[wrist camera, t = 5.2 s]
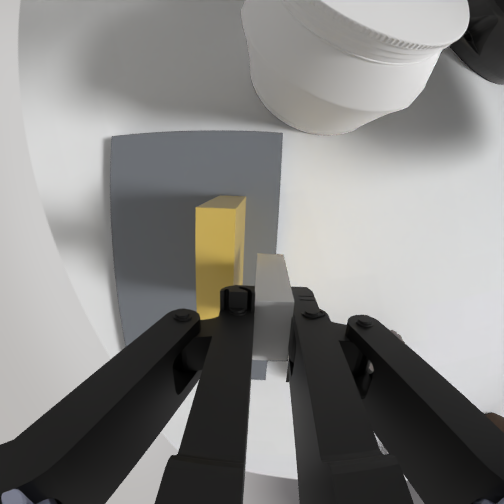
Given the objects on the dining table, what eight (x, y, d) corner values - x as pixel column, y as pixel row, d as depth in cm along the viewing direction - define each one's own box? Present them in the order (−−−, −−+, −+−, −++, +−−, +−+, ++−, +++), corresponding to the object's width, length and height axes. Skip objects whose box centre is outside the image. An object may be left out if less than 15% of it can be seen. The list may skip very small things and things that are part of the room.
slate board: (118, 137, 22) (111, 136, 21) (281, 135, 22) (282, 132, 20) (133, 357, 28) (129, 363, 27) (265, 372, 27) (265, 380, 26)
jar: (337, 156, 22) (442, 137, 7) (234, 96, 21) (188, -6, 6) (394, 57, 19) (494, -17, 5) (301, 3, 18) (327, -115, 4)
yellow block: (218, 195, 22) (192, 207, 14) (246, 196, 22) (235, 208, 14) (216, 293, 24) (195, 346, 16) (242, 294, 24) (232, 349, 16)
